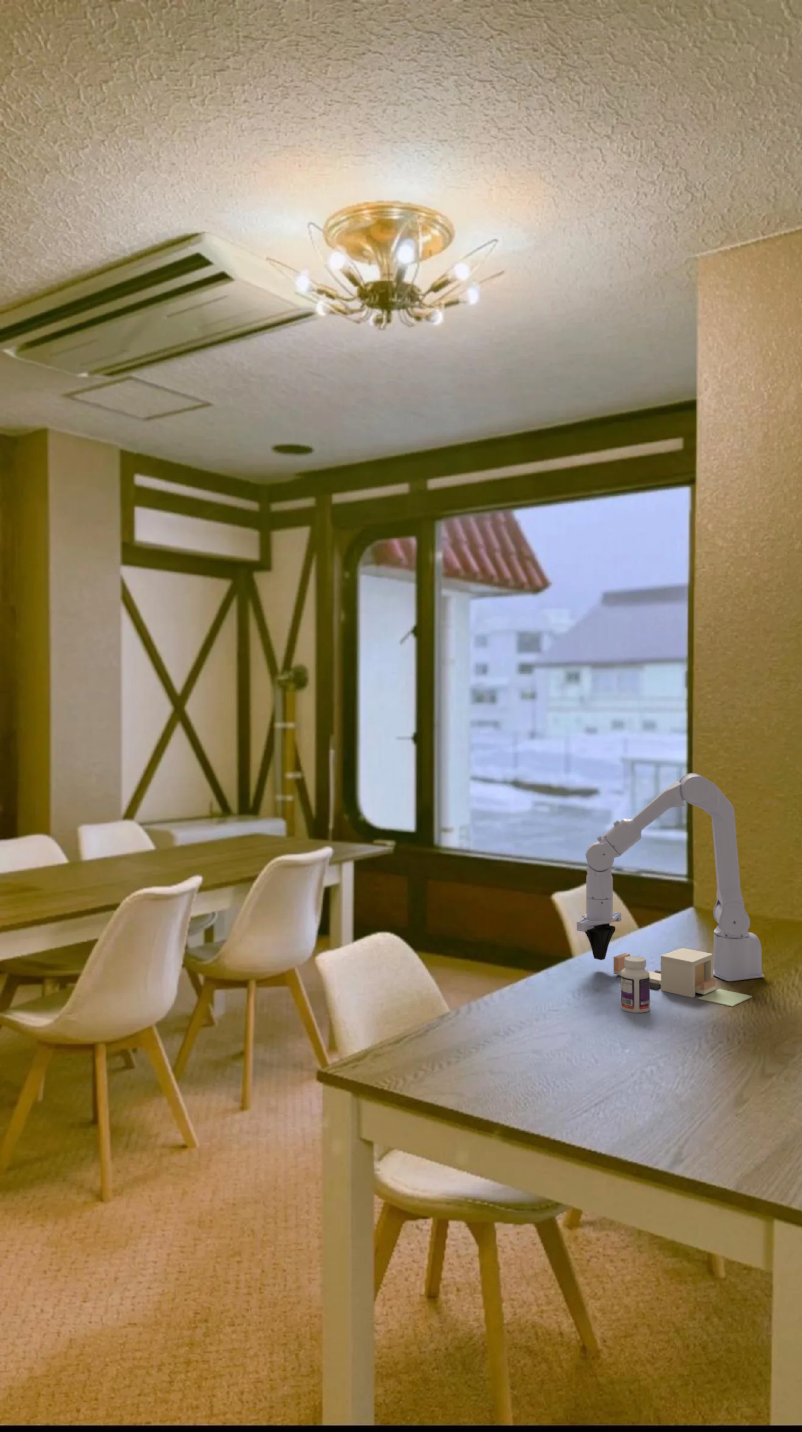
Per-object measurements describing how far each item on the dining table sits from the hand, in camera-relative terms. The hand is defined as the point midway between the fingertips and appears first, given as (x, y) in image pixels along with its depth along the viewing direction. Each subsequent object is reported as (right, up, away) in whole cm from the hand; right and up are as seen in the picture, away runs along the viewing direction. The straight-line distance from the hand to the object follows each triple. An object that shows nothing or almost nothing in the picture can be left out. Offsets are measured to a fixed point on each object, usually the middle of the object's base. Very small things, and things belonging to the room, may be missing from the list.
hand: (599, 958), depth 210 cm
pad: (+21, -3, -21) cm, 29 cm away
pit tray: (+10, -2, -10) cm, 14 cm away
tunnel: (+15, -3, -15) cm, 21 cm away
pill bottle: (+1, -3, -27) cm, 27 cm away
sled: (+11, -2, -11) cm, 16 cm away
